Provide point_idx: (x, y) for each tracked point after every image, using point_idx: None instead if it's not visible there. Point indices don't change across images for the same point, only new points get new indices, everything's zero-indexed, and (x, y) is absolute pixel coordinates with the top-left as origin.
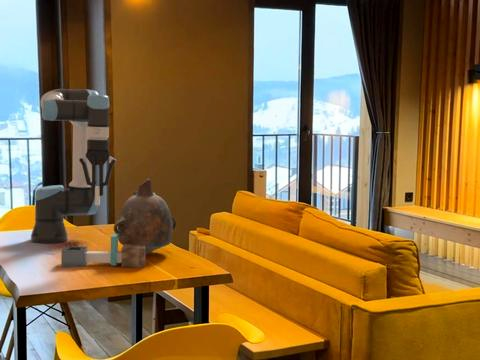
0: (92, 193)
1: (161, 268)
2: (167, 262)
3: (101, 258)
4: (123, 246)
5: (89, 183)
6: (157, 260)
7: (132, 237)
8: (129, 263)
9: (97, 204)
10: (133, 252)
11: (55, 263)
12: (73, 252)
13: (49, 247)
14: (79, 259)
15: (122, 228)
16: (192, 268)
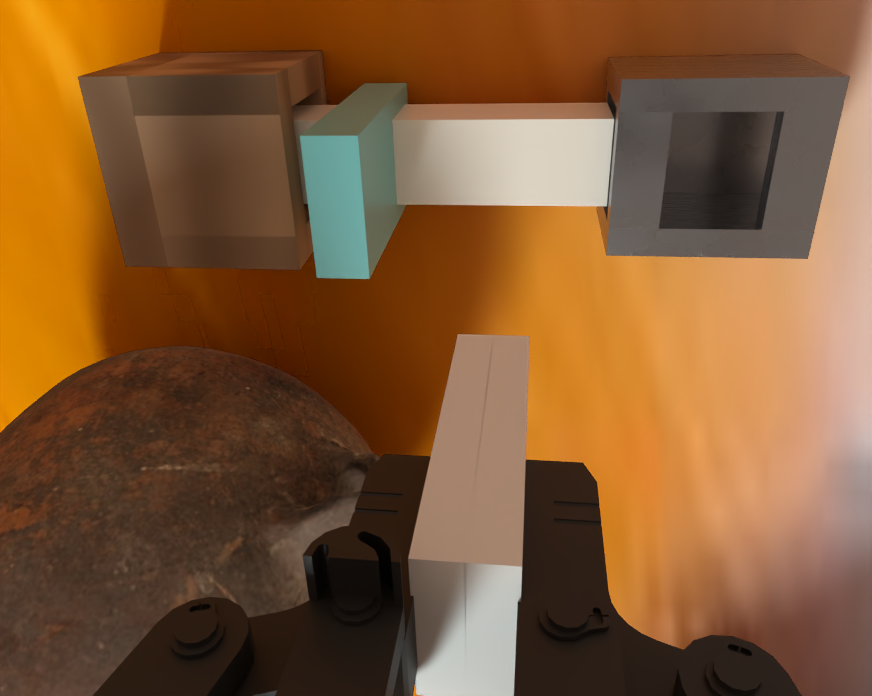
0: (584, 491)
1: (35, 40)
2: (54, 231)
3: (475, 109)
4: (278, 163)
5: (697, 676)
6: (133, 288)
7: (245, 391)
8: (252, 56)
9: (483, 341)
10: (186, 69)
11: (842, 190)
12: (725, 75)
13: (863, 631)
14: (658, 65)
15: (320, 486)
16: None
